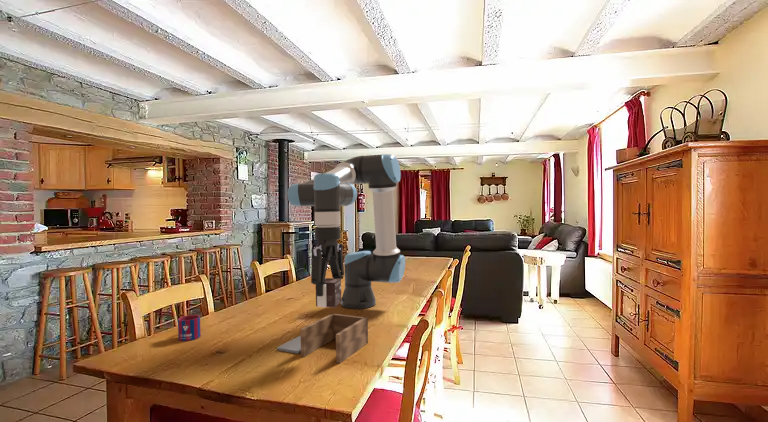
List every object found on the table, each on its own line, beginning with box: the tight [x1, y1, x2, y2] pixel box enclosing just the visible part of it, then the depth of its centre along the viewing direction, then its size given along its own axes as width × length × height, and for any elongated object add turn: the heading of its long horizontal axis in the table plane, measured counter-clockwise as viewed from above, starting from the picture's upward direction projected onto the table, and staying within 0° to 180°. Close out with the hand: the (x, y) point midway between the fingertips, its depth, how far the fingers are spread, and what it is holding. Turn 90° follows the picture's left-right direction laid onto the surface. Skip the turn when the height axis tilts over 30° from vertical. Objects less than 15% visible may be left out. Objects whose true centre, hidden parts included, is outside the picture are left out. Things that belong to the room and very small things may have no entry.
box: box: [315, 277, 342, 308], centre depth 114 cm, size 6×6×7 cm
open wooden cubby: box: [300, 313, 369, 364], centre depth 117 cm, size 17×13×8 cm
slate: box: [276, 334, 301, 355], centre depth 121 cm, size 12×8×1 cm, turn 155°
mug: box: [177, 314, 202, 342], centre depth 131 cm, size 7×10×7 cm
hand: (329, 303), depth 114 cm, fingers closed on box, 7 cm apart
